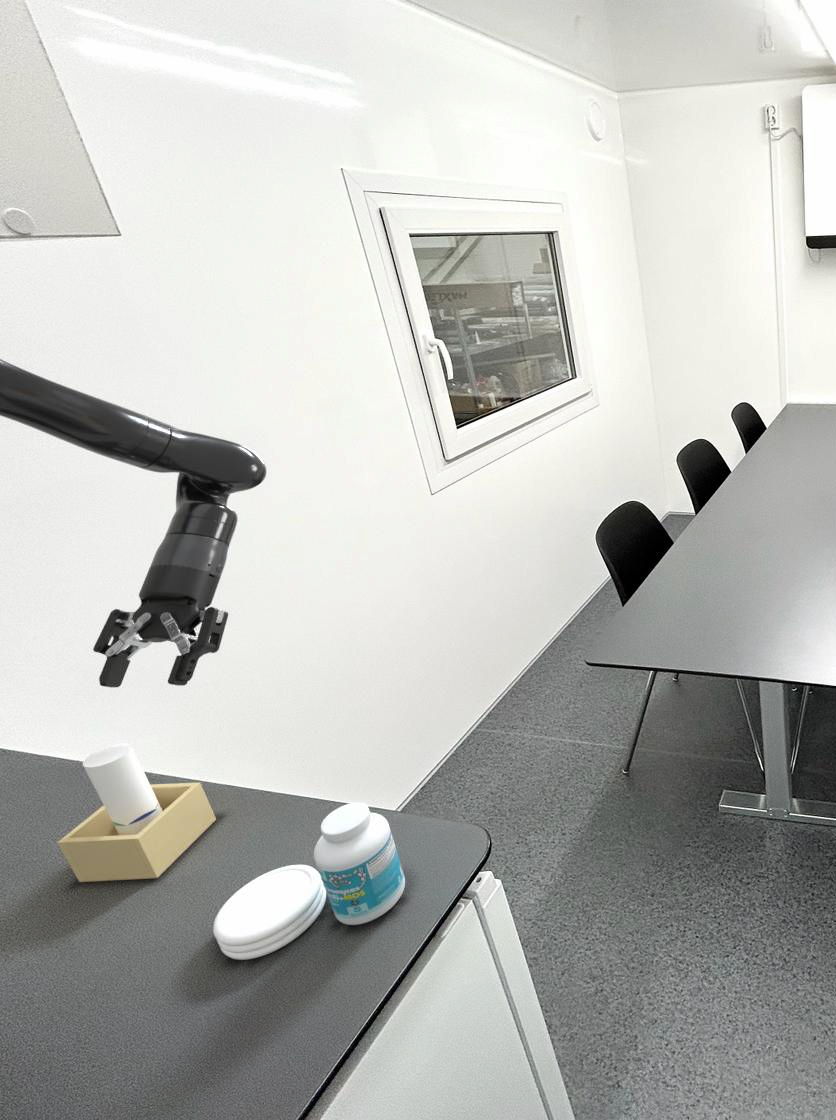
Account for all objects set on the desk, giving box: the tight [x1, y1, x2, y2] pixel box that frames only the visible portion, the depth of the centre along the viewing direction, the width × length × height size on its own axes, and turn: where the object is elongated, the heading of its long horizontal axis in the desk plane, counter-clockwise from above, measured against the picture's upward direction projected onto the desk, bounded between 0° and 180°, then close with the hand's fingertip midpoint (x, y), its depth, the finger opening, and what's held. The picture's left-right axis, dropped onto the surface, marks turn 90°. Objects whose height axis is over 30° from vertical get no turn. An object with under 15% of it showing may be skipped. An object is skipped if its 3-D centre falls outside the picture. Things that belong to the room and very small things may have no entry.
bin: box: [56, 782, 217, 883], centre depth 83 cm, size 9×9×7 cm
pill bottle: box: [313, 802, 406, 926], centre depth 75 cm, size 8×7×14 cm
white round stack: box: [212, 864, 327, 961], centre depth 74 cm, size 10×10×4 cm
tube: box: [82, 742, 163, 835], centre depth 81 cm, size 4×4×15 cm
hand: (143, 685), depth 83 cm, fingers open, 8 cm apart
